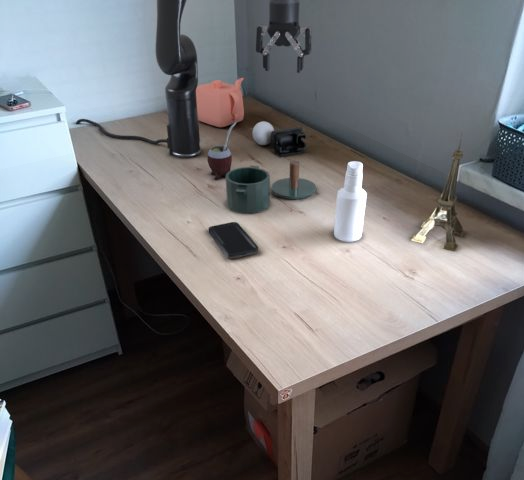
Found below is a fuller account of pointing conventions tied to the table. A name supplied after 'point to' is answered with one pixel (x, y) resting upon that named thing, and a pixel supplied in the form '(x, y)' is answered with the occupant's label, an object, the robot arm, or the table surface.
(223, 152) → the mate gourd
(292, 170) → the lid
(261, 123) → the white sphere
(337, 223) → the white bottle
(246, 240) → the phone
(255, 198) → the pot
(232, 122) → the teapot
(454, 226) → the eiffel tower
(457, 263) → the table surface
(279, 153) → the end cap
